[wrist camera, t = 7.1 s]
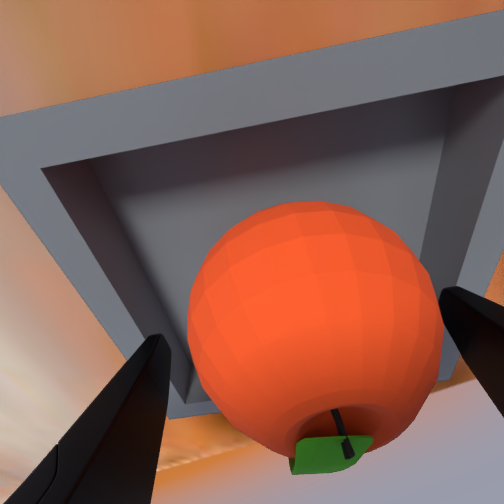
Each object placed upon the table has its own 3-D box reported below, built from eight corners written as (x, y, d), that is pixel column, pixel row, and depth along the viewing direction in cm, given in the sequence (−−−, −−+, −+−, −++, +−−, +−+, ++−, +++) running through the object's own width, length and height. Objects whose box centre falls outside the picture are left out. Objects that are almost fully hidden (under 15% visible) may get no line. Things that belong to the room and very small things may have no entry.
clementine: (337, 330, 14) (418, 520, 8) (200, 329, 13) (176, 538, 7) (395, 175, 10) (665, 334, 4) (197, 161, 9) (131, 331, 3)
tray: (492, 13, 8) (612, -15, 5) (415, 330, 16) (449, 379, 13) (38, 110, 9) (-42, 126, 6) (179, 366, 16) (169, 419, 14)
